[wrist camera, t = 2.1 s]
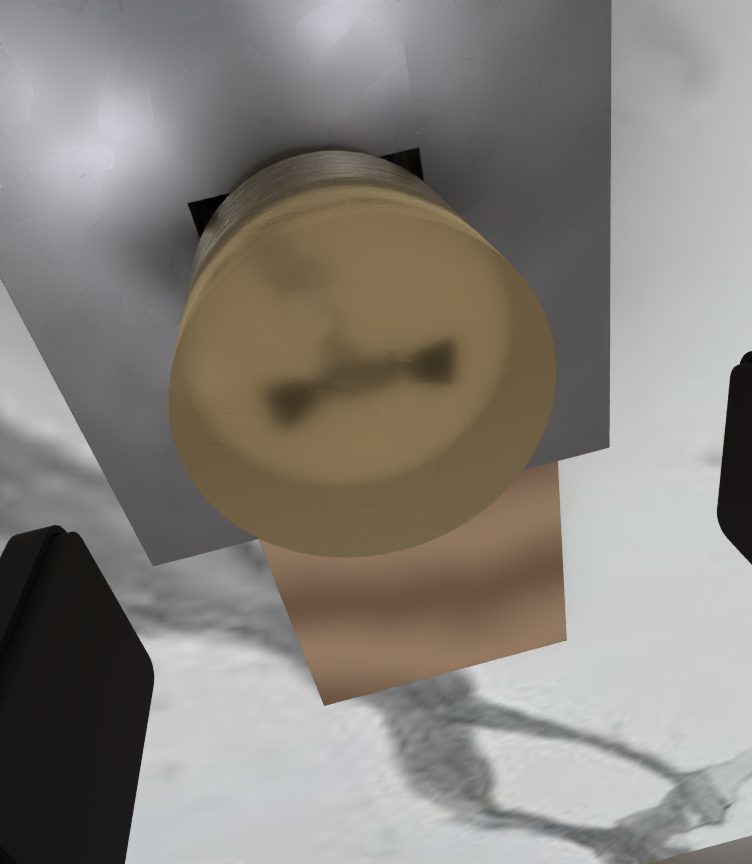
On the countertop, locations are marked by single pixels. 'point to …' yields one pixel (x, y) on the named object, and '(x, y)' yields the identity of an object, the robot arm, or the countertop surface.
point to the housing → (266, 145)
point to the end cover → (354, 361)
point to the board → (432, 596)
